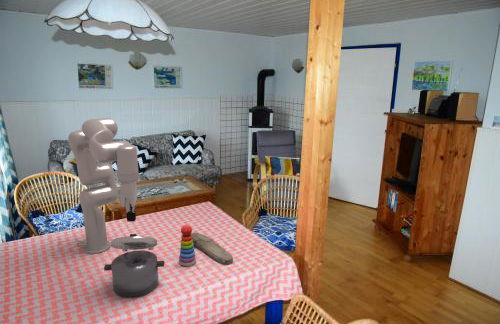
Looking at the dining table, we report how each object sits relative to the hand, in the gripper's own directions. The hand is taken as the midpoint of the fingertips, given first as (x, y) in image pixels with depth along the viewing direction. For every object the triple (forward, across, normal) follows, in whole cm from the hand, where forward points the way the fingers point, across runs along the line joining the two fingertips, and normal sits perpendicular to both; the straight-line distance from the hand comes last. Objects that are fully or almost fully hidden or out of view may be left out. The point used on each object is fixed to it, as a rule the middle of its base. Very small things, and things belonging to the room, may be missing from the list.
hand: (131, 220), depth 141 cm
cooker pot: (+29, 0, 0) cm, 29 cm away
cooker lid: (+12, -2, 0) cm, 12 cm away
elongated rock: (+30, -26, +32) cm, 51 cm away
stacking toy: (+29, -15, +21) cm, 39 cm away
